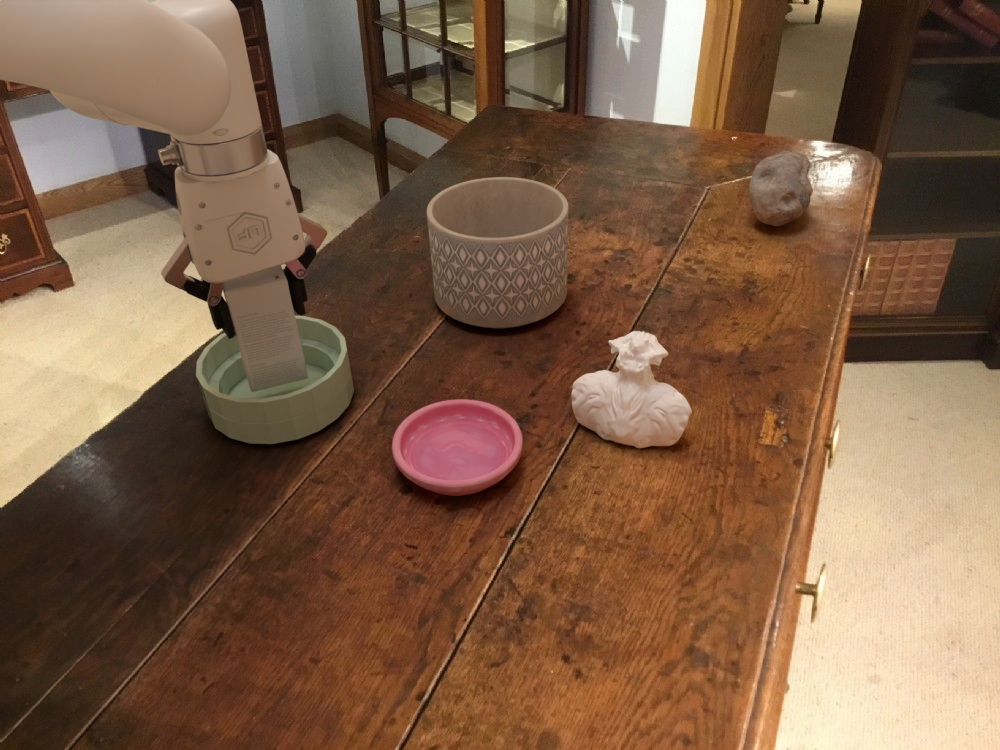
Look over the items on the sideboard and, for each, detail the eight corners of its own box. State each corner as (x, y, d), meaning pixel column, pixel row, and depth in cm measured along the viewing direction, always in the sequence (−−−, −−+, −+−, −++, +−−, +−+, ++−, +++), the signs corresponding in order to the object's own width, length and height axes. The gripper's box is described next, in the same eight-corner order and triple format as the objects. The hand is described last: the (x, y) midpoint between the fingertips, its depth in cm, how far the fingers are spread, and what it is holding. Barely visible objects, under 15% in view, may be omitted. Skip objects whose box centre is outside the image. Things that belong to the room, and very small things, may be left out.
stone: (821, 202, 125) (835, 136, 119) (795, 244, 115) (809, 174, 109) (762, 190, 128) (772, 126, 122) (732, 230, 118) (742, 162, 112)
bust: (686, 457, 85) (711, 347, 85) (676, 461, 78) (703, 341, 78) (573, 428, 89) (596, 324, 89) (553, 430, 82) (579, 316, 82)
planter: (419, 282, 110) (409, 191, 103) (535, 256, 115) (535, 167, 107) (460, 350, 98) (452, 252, 90) (589, 318, 102) (592, 222, 95)
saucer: (512, 415, 88) (511, 391, 86) (533, 499, 78) (532, 475, 76) (392, 429, 87) (389, 405, 85) (398, 517, 77) (394, 492, 75)
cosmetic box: (301, 357, 92) (281, 259, 84) (309, 379, 88) (288, 279, 81) (244, 371, 90) (218, 272, 83) (249, 394, 87) (223, 293, 80)
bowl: (236, 468, 83) (221, 421, 79) (193, 389, 94) (178, 344, 90) (377, 413, 89) (370, 367, 86) (322, 344, 100) (313, 300, 96)
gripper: (130, 188, 68) (187, 368, 79) (331, 139, 75) (358, 310, 86) (110, 158, 73) (166, 330, 84) (300, 115, 80) (329, 279, 91)
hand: (263, 319), depth 85 cm, fingers closed on cosmetic box, 6 cm apart
